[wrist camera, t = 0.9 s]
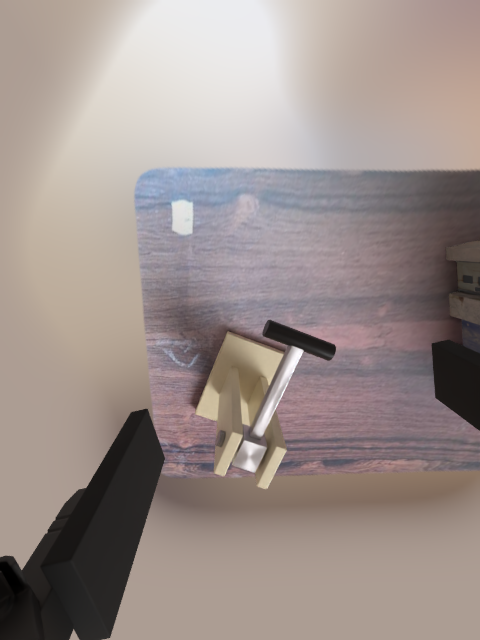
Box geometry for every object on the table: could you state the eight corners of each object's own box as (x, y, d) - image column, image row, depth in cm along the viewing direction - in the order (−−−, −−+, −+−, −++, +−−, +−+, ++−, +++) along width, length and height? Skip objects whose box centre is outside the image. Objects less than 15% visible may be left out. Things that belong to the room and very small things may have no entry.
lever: (267, 316, 25) (271, 323, 23) (330, 340, 26) (340, 350, 23) (213, 441, 28) (211, 459, 25) (271, 460, 28) (274, 479, 26)
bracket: (227, 330, 37) (226, 384, 23) (291, 354, 38) (328, 419, 24) (195, 409, 40) (176, 501, 26) (256, 429, 41) (270, 528, 27)
